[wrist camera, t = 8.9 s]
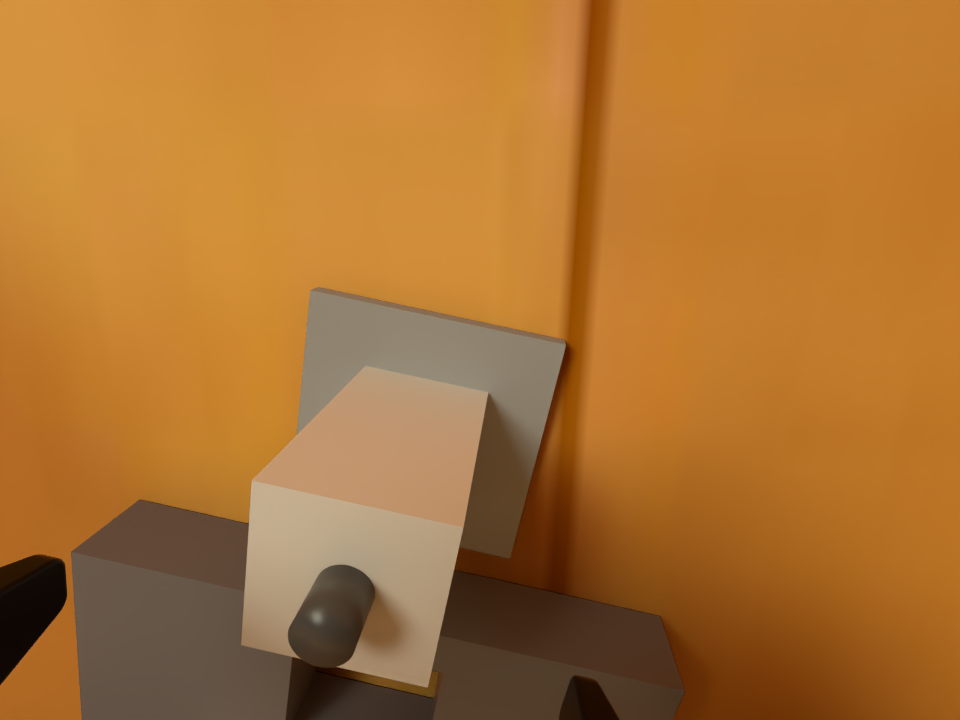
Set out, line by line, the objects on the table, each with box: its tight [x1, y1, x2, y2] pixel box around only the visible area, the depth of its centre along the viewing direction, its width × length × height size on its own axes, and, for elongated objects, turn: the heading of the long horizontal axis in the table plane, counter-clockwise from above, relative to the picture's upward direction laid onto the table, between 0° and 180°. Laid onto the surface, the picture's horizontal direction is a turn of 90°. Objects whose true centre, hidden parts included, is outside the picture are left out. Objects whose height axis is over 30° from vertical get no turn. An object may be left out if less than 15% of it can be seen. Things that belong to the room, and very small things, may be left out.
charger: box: [241, 366, 488, 688], centre depth 13 cm, size 4×4×8 cm
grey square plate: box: [297, 287, 566, 559], centre depth 17 cm, size 8×8×1 cm
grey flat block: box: [71, 500, 685, 720], centre depth 18 cm, size 20×8×4 cm, turn 79°
